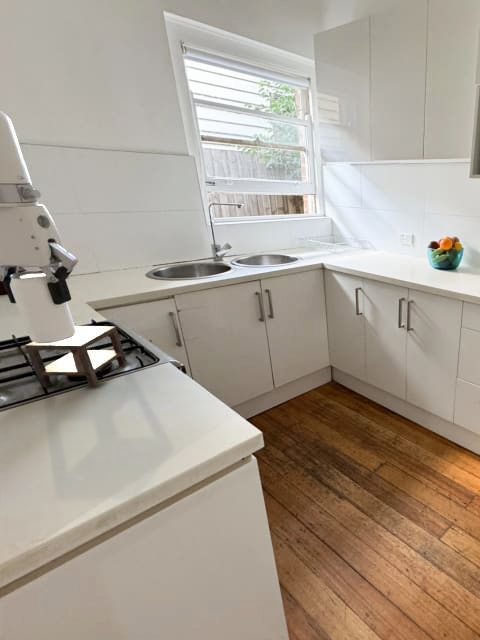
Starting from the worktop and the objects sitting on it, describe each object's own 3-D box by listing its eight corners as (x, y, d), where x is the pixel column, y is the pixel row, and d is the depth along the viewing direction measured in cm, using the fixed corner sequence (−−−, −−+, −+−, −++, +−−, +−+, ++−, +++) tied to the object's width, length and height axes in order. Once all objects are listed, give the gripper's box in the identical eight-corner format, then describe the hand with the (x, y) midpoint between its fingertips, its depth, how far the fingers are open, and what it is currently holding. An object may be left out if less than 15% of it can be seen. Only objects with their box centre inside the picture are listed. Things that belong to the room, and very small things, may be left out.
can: (59, 328, 75) (37, 268, 70) (86, 333, 73) (66, 271, 69) (21, 341, 69) (-5, 276, 64) (50, 346, 68) (25, 280, 63)
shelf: (41, 387, 82) (24, 345, 78) (80, 364, 92) (66, 325, 88) (95, 387, 83) (80, 345, 79) (127, 364, 93) (115, 326, 89)
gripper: (78, 196, 65) (107, 297, 72) (-30, 191, 64) (10, 294, 71) (41, 199, 58) (77, 310, 65) (-81, 193, 57) (-31, 306, 64)
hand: (41, 300), depth 68 cm, fingers closed on can, 6 cm apart
